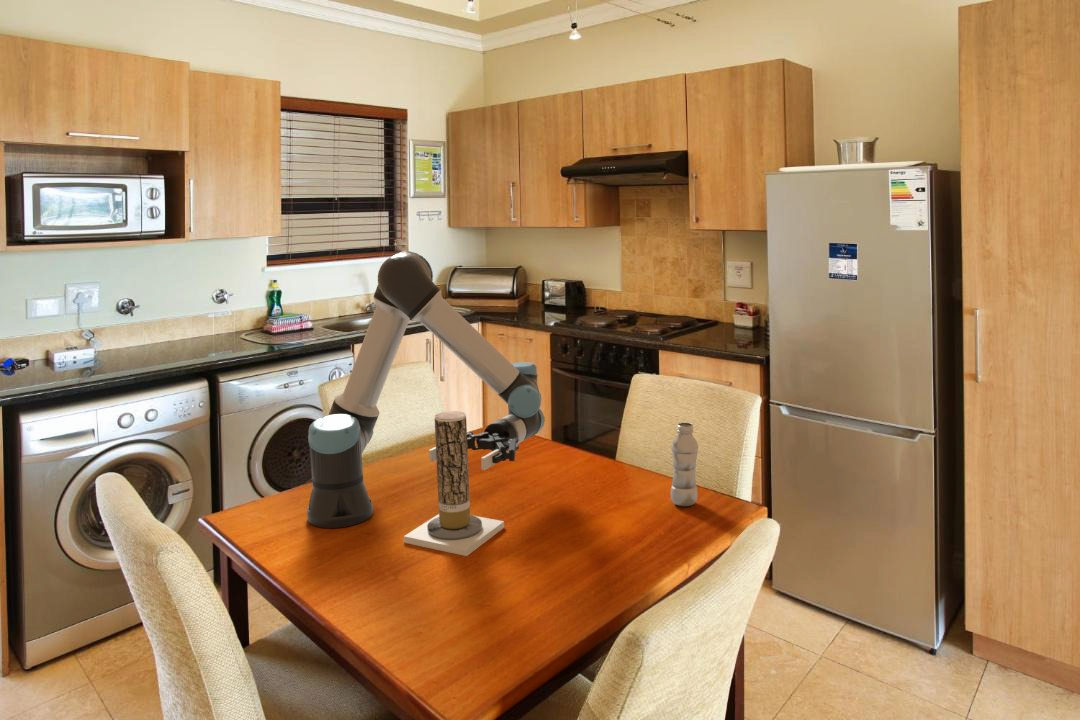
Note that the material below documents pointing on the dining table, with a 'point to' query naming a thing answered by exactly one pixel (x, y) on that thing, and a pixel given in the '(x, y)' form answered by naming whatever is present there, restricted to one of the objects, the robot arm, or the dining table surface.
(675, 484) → the plastic bottle
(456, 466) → the paper tube
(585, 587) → the dining table surface
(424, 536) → the domed button base
